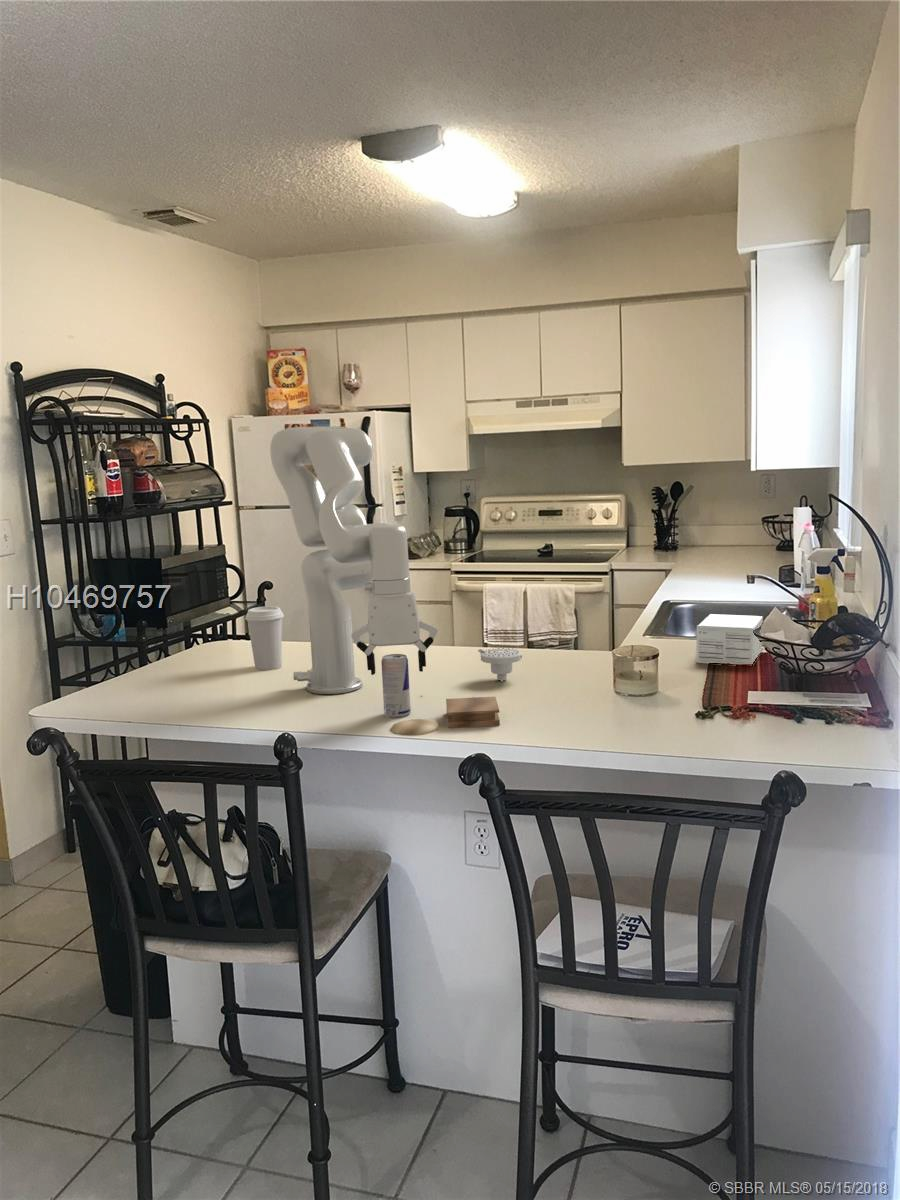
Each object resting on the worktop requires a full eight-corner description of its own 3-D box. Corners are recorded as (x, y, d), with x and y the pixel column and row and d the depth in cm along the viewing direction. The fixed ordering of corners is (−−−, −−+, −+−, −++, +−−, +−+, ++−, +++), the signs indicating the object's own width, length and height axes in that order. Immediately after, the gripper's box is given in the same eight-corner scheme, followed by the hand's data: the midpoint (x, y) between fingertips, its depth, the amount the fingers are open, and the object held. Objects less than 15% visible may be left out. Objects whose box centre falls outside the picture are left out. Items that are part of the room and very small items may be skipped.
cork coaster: (391, 738, 177) (391, 733, 177) (392, 724, 186) (392, 720, 186) (439, 735, 177) (439, 731, 177) (438, 721, 186) (437, 718, 186)
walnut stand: (447, 727, 181) (447, 712, 180) (446, 713, 191) (446, 698, 190) (499, 725, 181) (499, 710, 181) (495, 710, 191) (495, 696, 190)
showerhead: (481, 644, 220) (524, 644, 218) (482, 674, 221) (524, 675, 219) (474, 653, 211) (518, 653, 209) (475, 685, 212) (519, 685, 210)
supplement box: (753, 667, 218) (753, 627, 217) (695, 664, 224) (695, 625, 222) (763, 652, 233) (763, 614, 232) (709, 649, 239) (709, 612, 237)
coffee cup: (295, 665, 240) (291, 607, 237) (269, 673, 232) (264, 613, 229) (267, 661, 245) (263, 604, 242) (241, 669, 237) (236, 611, 234)
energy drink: (414, 711, 193) (411, 654, 191) (404, 718, 188) (401, 660, 186) (390, 709, 195) (387, 653, 193) (380, 717, 190) (376, 659, 188)
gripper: (346, 592, 183) (352, 678, 185) (435, 587, 183) (440, 673, 186) (349, 588, 191) (355, 670, 193) (434, 582, 191) (439, 665, 193)
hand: (397, 671), depth 189 cm, fingers open, 9 cm apart
